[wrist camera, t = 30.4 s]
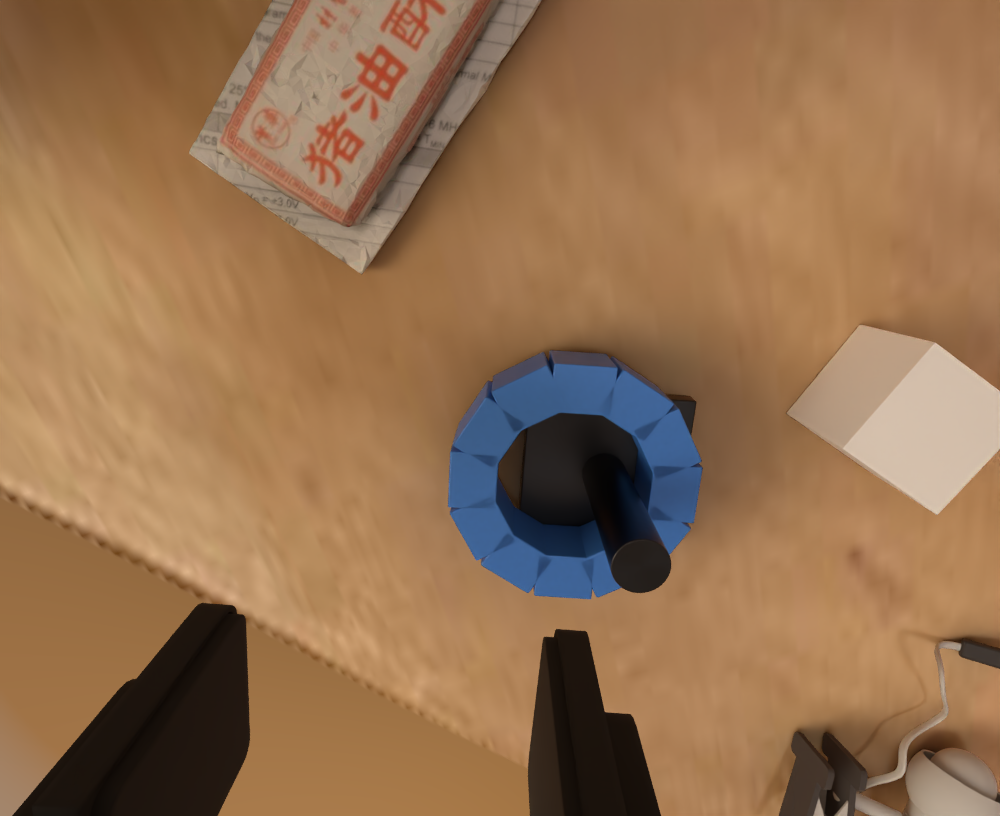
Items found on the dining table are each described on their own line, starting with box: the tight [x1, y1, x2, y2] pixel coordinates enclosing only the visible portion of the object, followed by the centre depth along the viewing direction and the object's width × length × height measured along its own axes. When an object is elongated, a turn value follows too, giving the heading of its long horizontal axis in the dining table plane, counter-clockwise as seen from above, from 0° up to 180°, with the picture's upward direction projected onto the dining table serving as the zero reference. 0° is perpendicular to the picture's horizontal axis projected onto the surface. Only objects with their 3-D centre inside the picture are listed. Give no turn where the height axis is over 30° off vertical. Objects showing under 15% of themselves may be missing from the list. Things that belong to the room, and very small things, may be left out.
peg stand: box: [519, 394, 696, 593], centre depth 30 cm, size 9×9×11 cm
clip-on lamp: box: [779, 639, 1000, 816], centre depth 37 cm, size 12×6×18 cm
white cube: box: [786, 325, 1000, 515], centre depth 31 cm, size 6×6×6 cm
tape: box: [448, 350, 703, 599], centre depth 32 cm, size 12×12×4 cm
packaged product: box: [189, 0, 542, 274], centre depth 27 cm, size 18×5×10 cm
